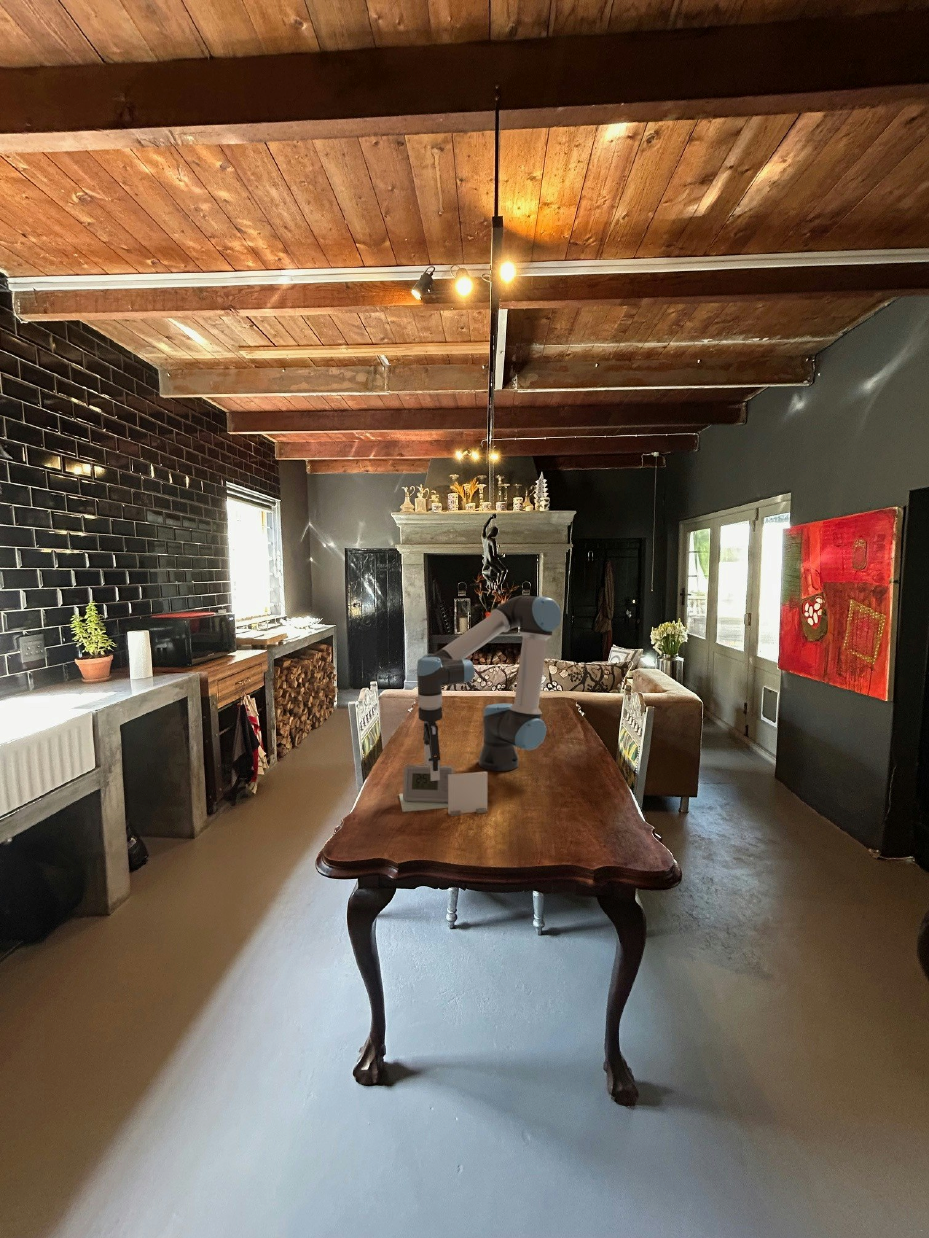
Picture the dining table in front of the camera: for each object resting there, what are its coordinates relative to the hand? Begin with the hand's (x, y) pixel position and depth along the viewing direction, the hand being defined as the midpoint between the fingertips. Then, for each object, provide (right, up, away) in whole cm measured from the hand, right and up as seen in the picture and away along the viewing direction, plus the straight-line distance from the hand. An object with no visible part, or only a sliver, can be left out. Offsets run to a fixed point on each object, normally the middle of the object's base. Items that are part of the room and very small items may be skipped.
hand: (432, 771), depth 171 cm
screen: (+11, -10, -7) cm, 17 cm away
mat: (0, -9, +1) cm, 9 cm away
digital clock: (-1, -9, 0) cm, 9 cm away
